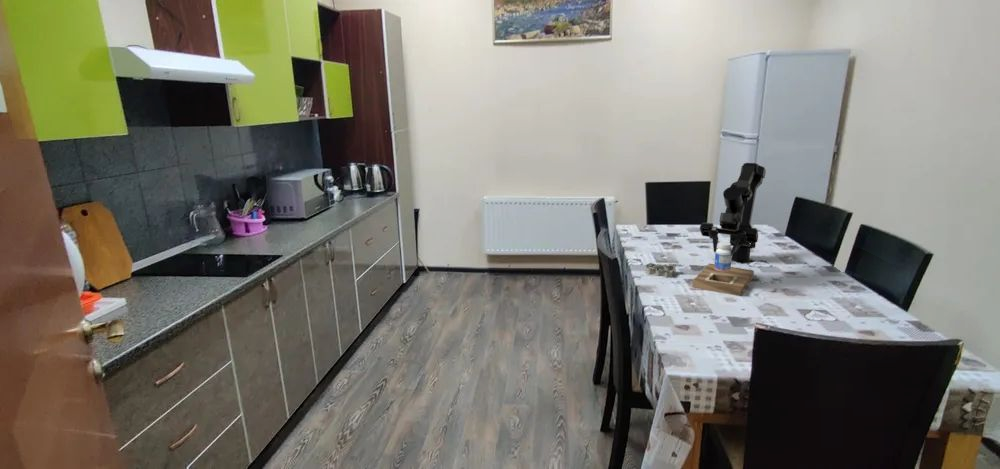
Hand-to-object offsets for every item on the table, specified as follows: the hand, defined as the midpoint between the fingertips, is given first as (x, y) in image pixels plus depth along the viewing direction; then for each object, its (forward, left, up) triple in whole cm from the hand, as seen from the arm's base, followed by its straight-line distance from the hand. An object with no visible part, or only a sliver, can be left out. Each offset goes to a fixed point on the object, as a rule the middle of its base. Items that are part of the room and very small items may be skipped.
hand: (723, 252), depth 175 cm
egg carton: (+9, -21, -13) cm, 26 cm away
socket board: (-5, -3, -13) cm, 14 cm away
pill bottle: (-1, -1, -7) cm, 7 cm away
